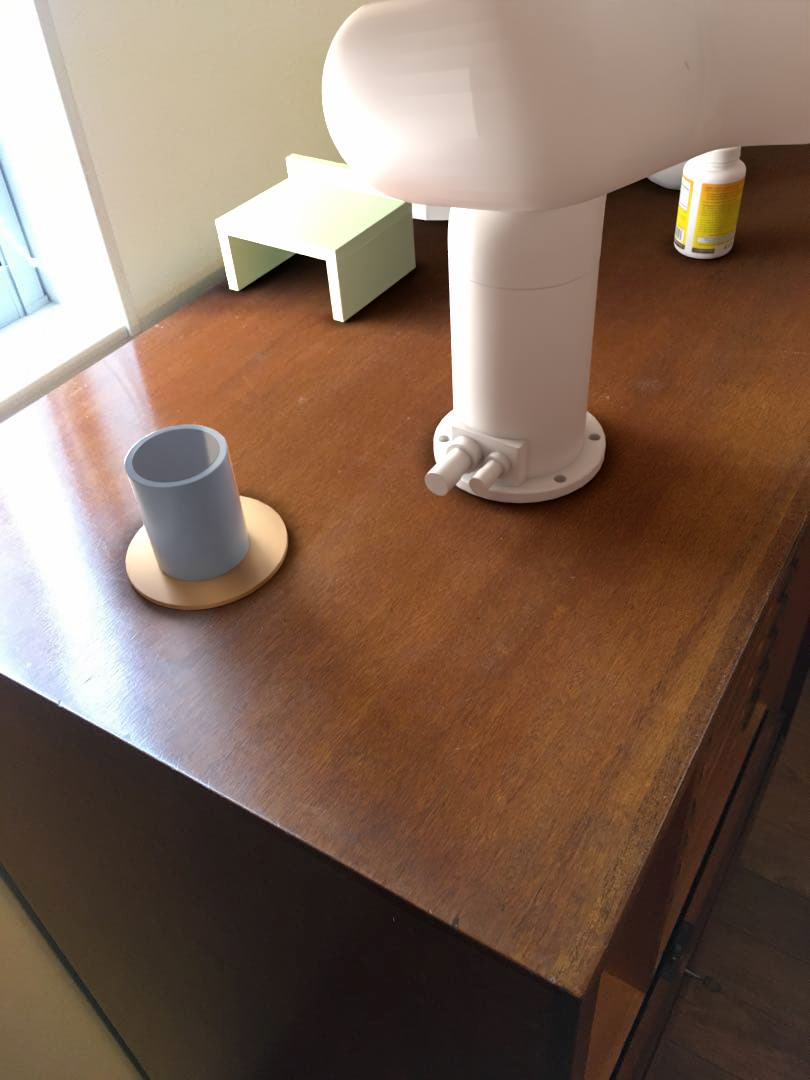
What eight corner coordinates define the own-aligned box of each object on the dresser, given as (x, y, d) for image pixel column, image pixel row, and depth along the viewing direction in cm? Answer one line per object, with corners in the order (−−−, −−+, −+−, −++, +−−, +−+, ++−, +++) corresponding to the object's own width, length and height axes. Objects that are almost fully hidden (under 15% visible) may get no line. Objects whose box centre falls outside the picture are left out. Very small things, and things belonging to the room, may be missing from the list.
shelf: (343, 322, 85) (332, 228, 79) (229, 288, 91) (210, 198, 85) (416, 267, 92) (410, 176, 86) (305, 239, 98) (292, 153, 92)
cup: (205, 594, 60) (176, 500, 54) (135, 560, 63) (102, 466, 57) (269, 536, 64) (248, 442, 58) (200, 505, 67) (174, 413, 61)
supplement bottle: (743, 247, 91) (764, 140, 84) (707, 267, 88) (726, 158, 81) (696, 230, 94) (713, 125, 87) (660, 249, 92) (674, 142, 85)
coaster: (213, 634, 58) (211, 630, 58) (92, 571, 63) (90, 567, 63) (320, 530, 64) (320, 526, 64) (204, 481, 69) (202, 476, 69)
